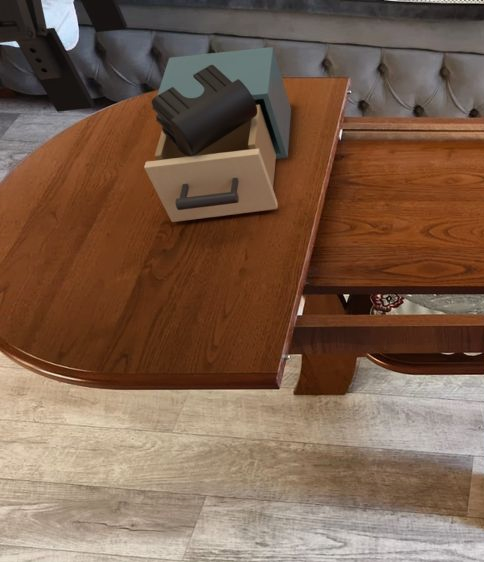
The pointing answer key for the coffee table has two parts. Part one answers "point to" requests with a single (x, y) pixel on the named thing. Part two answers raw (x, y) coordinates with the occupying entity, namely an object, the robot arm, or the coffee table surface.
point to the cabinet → (251, 72)
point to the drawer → (217, 174)
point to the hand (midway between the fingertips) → (95, 65)
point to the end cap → (204, 111)
